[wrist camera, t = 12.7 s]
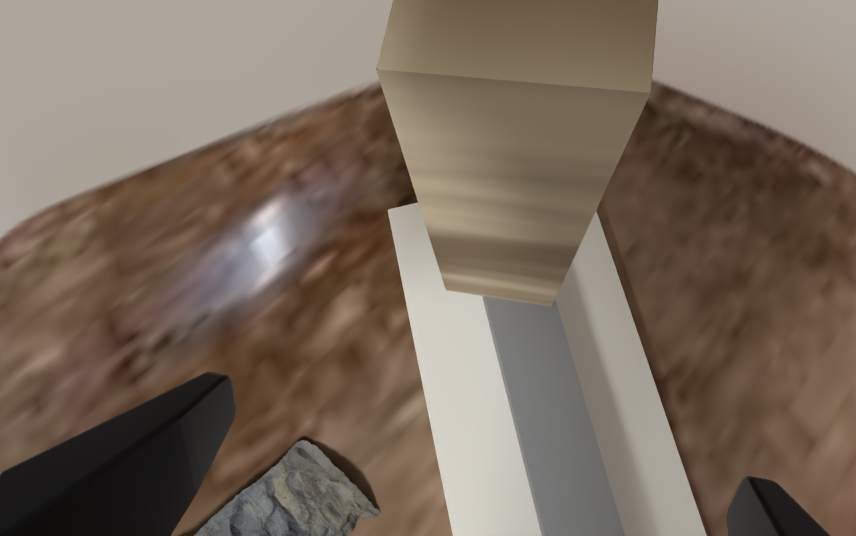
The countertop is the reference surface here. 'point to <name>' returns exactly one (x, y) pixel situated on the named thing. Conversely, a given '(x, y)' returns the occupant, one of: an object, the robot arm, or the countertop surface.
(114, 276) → the countertop surface
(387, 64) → the brass post
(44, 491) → the robot arm
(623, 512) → the ridge stand
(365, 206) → the countertop surface
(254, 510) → the driftwood
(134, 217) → the countertop surface
